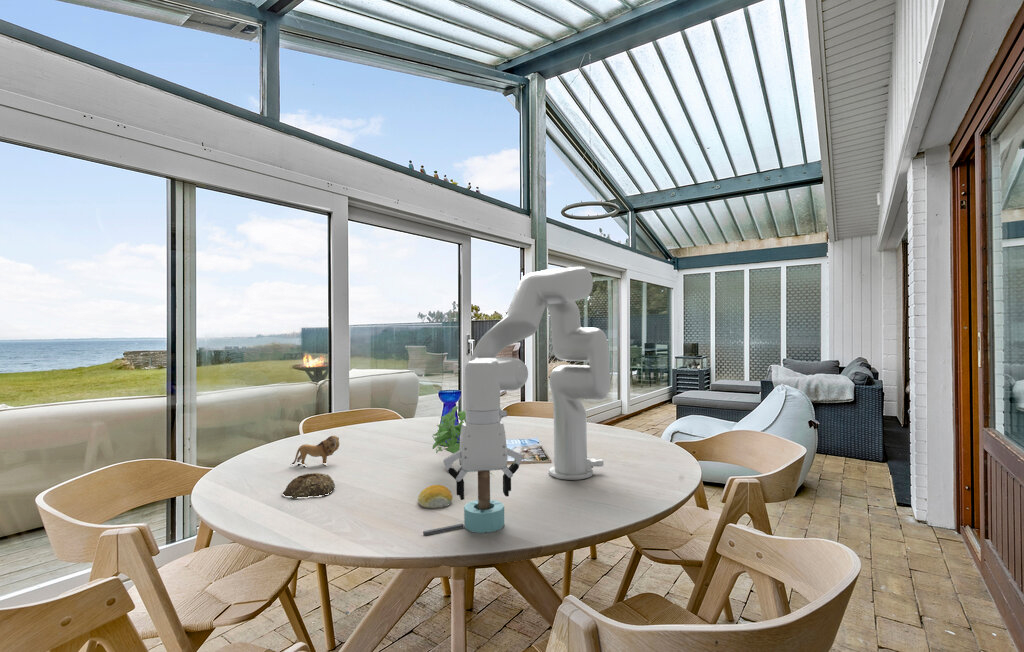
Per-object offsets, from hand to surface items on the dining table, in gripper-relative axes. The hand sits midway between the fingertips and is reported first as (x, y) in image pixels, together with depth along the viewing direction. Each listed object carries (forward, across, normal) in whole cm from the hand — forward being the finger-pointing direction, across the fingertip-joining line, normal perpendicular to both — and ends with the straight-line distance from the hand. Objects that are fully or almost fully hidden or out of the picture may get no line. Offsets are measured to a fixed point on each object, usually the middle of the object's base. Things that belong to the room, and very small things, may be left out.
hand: (484, 496), depth 105 cm
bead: (+6, 0, 0) cm, 6 cm away
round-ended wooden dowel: (+6, 0, 0) cm, 6 cm away
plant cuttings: (+6, -1, -44) cm, 44 cm away
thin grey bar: (+6, +9, +1) cm, 11 cm away
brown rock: (+7, +42, -33) cm, 54 cm away
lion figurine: (+6, +45, -60) cm, 76 cm away
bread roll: (+7, +10, -17) cm, 20 cm away
